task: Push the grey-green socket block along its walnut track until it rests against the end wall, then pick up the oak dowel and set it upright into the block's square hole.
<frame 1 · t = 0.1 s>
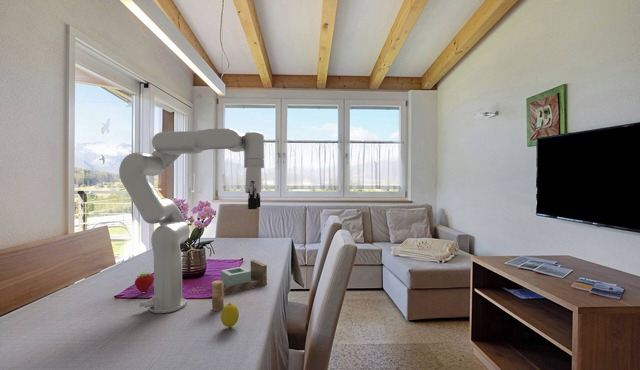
hand: (254, 208, 114), 37 cm above the table, tool pointing down, fingers open, 9 cm apart
socket block: (235, 277, 134), point 4 cm above the table, slide at 5.0 cm
oak dowel: (217, 309, 110), on the table
strawberry: (144, 293, 126), on the table
lemon: (230, 328, 95), on the table
paper tube: (172, 281, 142), on the table
track board: (240, 285, 135), on the table
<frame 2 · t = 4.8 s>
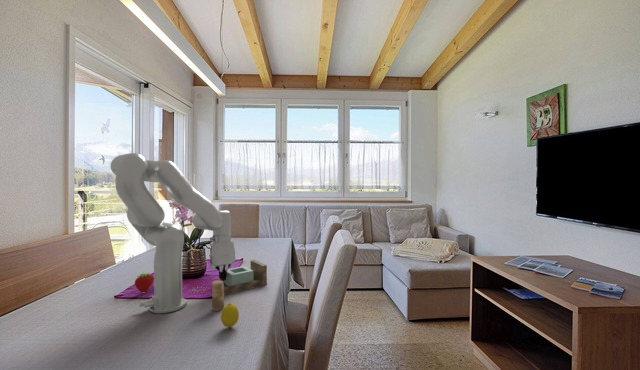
hand: (223, 279, 130), 4 cm above the table, tool pointing down, fingers closed
socket block: (238, 276, 135), point 4 cm above the table, slide at 3.7 cm, touching gripper
everything else where it was.
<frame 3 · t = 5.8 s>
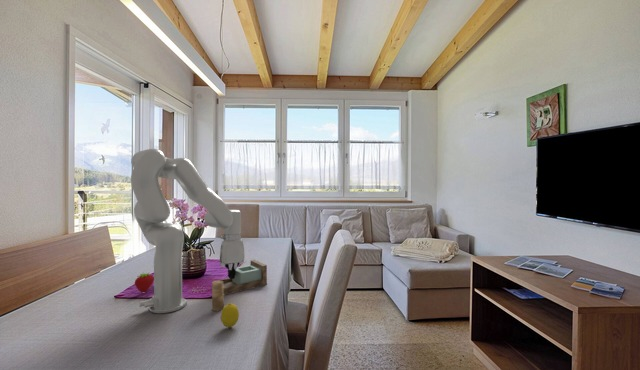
hand: (231, 277, 133), 4 cm above the table, tool pointing down, fingers closed
socket block: (246, 275, 137), point 4 cm above the table, slide at -0.2 cm, touching gripper, track board
everything else where it was.
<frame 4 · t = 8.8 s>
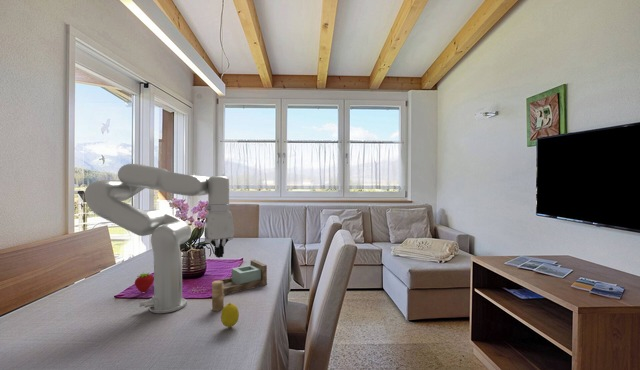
hand: (219, 256, 112), 19 cm above the table, tool pointing down, fingers closed
socket block: (246, 275, 137), point 4 cm above the table, slide at 0.0 cm
everything else where it was.
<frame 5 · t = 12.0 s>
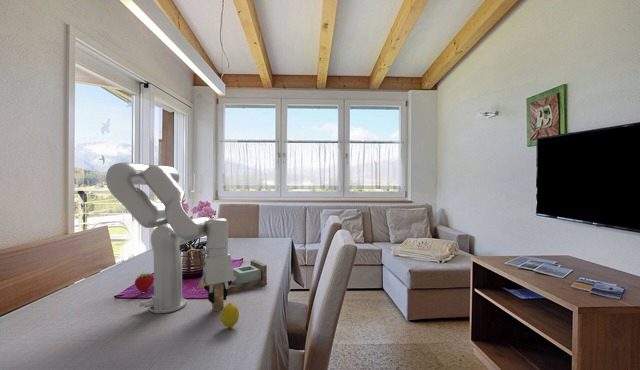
hand: (217, 300, 110), 3 cm above the table, tool pointing down, fingers closed on oak dowel, 4 cm apart
oak dowel: (217, 309, 110), on the table, touching gripper
everything else where it was.
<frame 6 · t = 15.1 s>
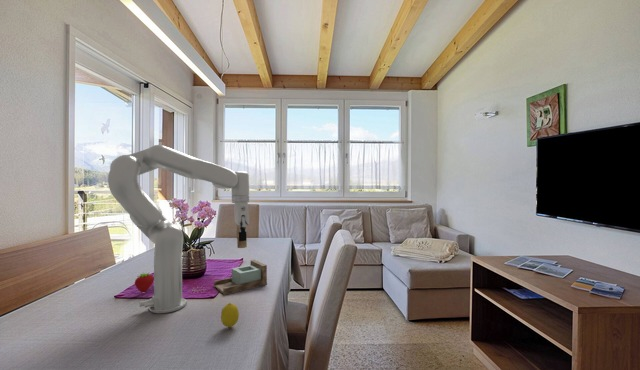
hand: (241, 239, 131), 22 cm above the table, tool pointing down, fingers closed on oak dowel, 4 cm apart
oak dowel: (242, 247, 132), point 18 cm above the table, touching gripper
everything else where it was.
when the fingers open (8 cm above the table, at t = 18.5 s): oak dowel drops 1 cm, resting on socket block.
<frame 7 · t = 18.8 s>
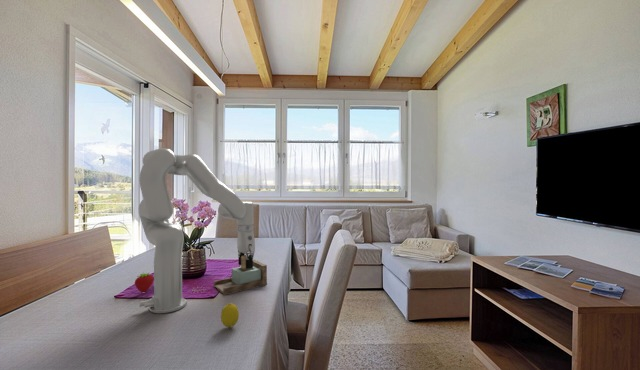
hand: (245, 266, 137), 9 cm above the table, tool pointing down, fingers open, 7 cm apart
socket block: (246, 275, 137), point 4 cm above the table, slide at 0.0 cm, touching oak dowel
oak dowel: (245, 277, 137), point 3 cm above the table, touching socket block
everything else where it was.
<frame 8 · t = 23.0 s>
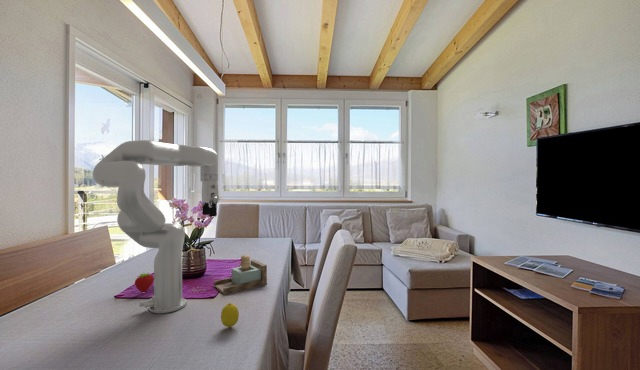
hand: (209, 215, 135), 32 cm above the table, tool pointing down, fingers open, 9 cm apart
nothing on the table moved.
at the end: socket block slide at 0.0 cm; oak dowel 0.1 cm from the target spot, point 3.2 cm above the table; oak dowel tilted 0° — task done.
